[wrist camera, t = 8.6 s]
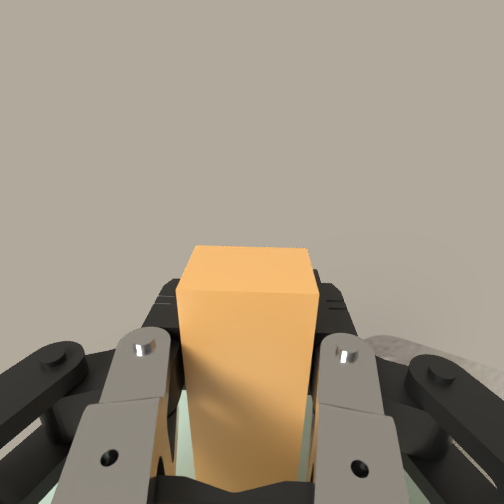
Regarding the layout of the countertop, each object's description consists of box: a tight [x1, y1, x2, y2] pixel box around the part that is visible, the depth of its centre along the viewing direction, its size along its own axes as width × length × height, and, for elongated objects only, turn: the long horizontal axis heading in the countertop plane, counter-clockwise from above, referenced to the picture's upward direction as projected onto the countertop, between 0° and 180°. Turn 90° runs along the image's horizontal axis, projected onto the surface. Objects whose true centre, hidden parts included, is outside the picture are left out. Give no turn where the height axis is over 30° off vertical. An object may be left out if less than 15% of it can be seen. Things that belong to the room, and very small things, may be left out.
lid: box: [38, 245, 430, 504], centre depth 11 cm, size 16×11×11 cm
